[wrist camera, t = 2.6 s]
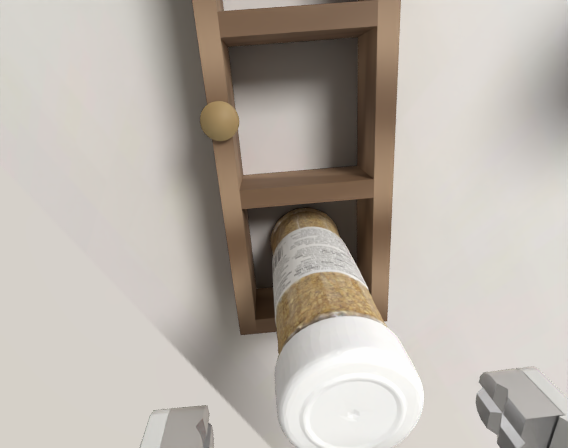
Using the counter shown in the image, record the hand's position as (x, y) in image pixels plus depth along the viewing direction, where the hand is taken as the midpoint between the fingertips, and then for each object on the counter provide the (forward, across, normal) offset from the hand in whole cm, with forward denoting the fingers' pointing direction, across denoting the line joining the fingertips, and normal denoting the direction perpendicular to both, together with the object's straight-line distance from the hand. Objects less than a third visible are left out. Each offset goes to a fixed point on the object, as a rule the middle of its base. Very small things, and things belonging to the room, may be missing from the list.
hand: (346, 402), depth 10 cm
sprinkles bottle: (+14, 0, +1) cm, 14 cm away
